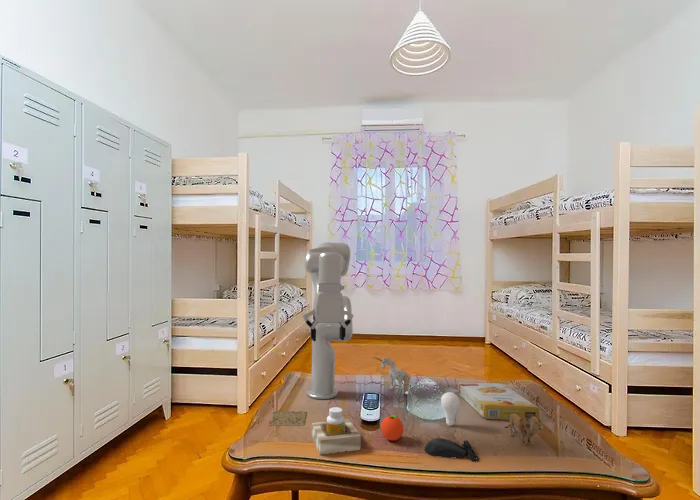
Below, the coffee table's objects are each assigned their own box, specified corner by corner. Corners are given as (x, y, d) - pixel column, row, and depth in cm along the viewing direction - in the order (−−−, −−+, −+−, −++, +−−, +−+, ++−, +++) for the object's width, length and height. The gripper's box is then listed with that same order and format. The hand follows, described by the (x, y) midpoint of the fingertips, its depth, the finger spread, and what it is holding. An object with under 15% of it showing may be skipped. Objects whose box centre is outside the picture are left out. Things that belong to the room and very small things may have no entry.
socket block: (311, 436, 114) (311, 422, 114) (348, 431, 118) (348, 418, 118) (319, 455, 103) (320, 439, 103) (360, 449, 106) (360, 434, 107)
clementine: (387, 431, 119) (387, 408, 119) (407, 436, 116) (407, 413, 116) (377, 441, 112) (377, 417, 112) (398, 447, 109) (399, 422, 109)
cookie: (267, 427, 121) (268, 424, 121) (274, 412, 133) (274, 410, 133) (304, 427, 121) (304, 424, 121) (307, 413, 133) (307, 410, 133)
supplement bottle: (341, 447, 107) (342, 413, 108) (323, 445, 108) (324, 412, 109) (345, 439, 112) (346, 407, 113) (328, 437, 114) (329, 405, 114)
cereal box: (485, 405, 130) (457, 380, 158) (484, 421, 129) (456, 393, 158) (540, 406, 131) (503, 382, 159) (540, 422, 131) (502, 395, 159)
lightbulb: (460, 424, 126) (460, 391, 126) (457, 431, 120) (458, 396, 121) (442, 420, 128) (442, 388, 129) (439, 427, 123) (439, 393, 123)
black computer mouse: (421, 443, 112) (422, 431, 112) (470, 446, 111) (470, 433, 111) (427, 461, 102) (427, 447, 102) (480, 463, 101) (480, 449, 101)
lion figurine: (545, 449, 109) (545, 418, 110) (531, 451, 108) (531, 420, 108) (511, 428, 123) (511, 401, 124) (497, 430, 122) (497, 402, 122)
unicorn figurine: (382, 383, 168) (383, 354, 169) (418, 395, 154) (418, 362, 155) (372, 387, 163) (373, 356, 164) (408, 399, 149) (408, 365, 150)
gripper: (350, 288, 130) (349, 337, 129) (302, 288, 125) (300, 338, 124) (357, 289, 123) (355, 341, 122) (306, 289, 118) (304, 343, 117)
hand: (327, 339), depth 123 cm, fingers open, 9 cm apart
